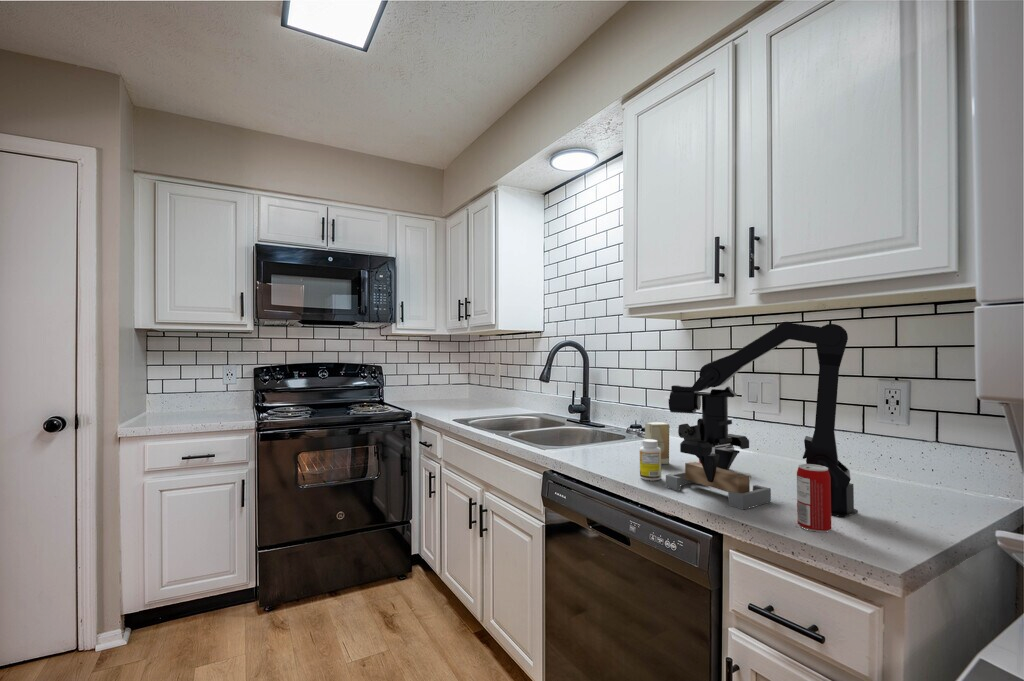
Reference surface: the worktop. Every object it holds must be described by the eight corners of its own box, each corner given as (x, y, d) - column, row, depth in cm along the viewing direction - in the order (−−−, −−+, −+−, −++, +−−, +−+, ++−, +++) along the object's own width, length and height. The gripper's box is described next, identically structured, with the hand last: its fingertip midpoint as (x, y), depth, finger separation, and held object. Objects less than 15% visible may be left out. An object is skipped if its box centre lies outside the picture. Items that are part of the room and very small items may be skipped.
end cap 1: (665, 487, 124) (665, 475, 124) (693, 481, 129) (692, 469, 129) (677, 490, 121) (677, 478, 121) (704, 484, 126) (704, 472, 126)
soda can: (836, 529, 94) (835, 466, 94) (823, 535, 91) (822, 470, 91) (805, 521, 99) (804, 460, 99) (792, 527, 95) (791, 464, 96)
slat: (749, 493, 111) (749, 475, 111) (738, 495, 110) (738, 477, 110) (695, 477, 126) (695, 461, 126) (685, 479, 124) (685, 463, 124)
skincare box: (651, 465, 148) (650, 424, 148) (644, 462, 152) (643, 422, 153) (670, 464, 150) (670, 423, 150) (662, 461, 154) (662, 421, 154)
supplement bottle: (646, 474, 136) (646, 437, 137) (665, 478, 132) (664, 440, 132) (635, 478, 132) (635, 440, 133) (654, 482, 128) (653, 443, 129)
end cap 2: (770, 501, 111) (770, 488, 112) (743, 509, 106) (742, 495, 106) (756, 497, 114) (756, 484, 115) (728, 505, 109) (728, 491, 109)
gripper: (710, 409, 130) (711, 469, 129) (661, 414, 120) (662, 478, 120) (750, 413, 120) (751, 478, 120) (700, 419, 111) (701, 489, 110)
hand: (715, 480), depth 118 cm, fingers closed on slat, 4 cm apart
